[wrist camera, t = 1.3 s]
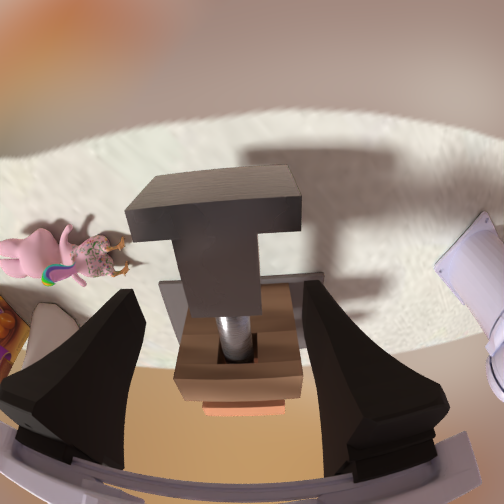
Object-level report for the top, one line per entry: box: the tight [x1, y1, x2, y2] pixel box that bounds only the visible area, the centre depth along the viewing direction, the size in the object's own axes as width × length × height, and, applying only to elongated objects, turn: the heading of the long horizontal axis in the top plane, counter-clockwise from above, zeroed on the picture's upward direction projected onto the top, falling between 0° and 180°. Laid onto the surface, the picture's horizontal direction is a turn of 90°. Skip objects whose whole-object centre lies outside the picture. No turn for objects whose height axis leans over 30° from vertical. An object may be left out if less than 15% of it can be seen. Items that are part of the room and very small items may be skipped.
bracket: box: [173, 283, 303, 402], centre depth 21 cm, size 3×8×9 cm, turn 94°
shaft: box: [125, 164, 302, 364], centre depth 17 cm, size 18×7×4 cm, turn 4°
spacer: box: [202, 358, 285, 416], centre depth 21 cm, size 2×6×6 cm, turn 94°
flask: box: [21, 303, 79, 370], centre depth 24 cm, size 7×7×10 cm
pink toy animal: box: [0, 224, 130, 287], centre depth 20 cm, size 6×6×15 cm
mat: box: [158, 272, 324, 349], centre depth 26 cm, size 10×14×1 cm
